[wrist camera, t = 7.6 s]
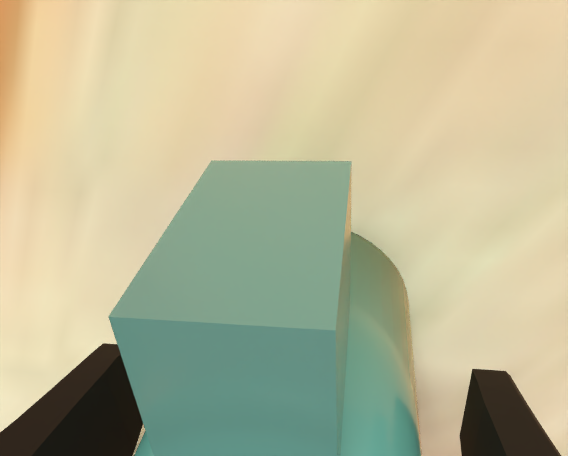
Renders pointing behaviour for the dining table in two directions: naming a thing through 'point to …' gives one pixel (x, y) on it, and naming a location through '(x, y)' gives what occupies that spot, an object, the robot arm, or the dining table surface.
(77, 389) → the robot arm
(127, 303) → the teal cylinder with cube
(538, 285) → the dining table surface
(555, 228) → the dining table surface
